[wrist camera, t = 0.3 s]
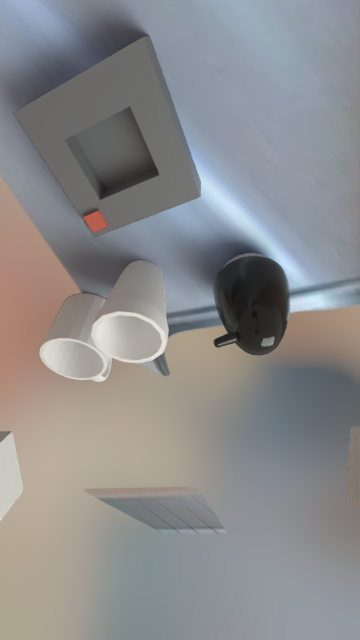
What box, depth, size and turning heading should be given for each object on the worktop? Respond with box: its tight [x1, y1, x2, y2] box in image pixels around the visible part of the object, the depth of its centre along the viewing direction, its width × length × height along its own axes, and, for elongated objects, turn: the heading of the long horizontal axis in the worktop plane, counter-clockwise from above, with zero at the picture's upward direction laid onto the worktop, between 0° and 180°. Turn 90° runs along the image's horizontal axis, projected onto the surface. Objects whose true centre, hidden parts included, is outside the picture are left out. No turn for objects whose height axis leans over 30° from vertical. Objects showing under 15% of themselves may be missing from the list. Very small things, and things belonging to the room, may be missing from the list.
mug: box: [40, 293, 112, 382], centre depth 51 cm, size 13×10×10 cm
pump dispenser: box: [213, 253, 290, 355], centre depth 40 cm, size 10×10×15 cm
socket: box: [13, 36, 201, 237], centre depth 33 cm, size 14×14×5 cm
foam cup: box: [91, 260, 169, 363], centre depth 43 cm, size 10×9×13 cm
